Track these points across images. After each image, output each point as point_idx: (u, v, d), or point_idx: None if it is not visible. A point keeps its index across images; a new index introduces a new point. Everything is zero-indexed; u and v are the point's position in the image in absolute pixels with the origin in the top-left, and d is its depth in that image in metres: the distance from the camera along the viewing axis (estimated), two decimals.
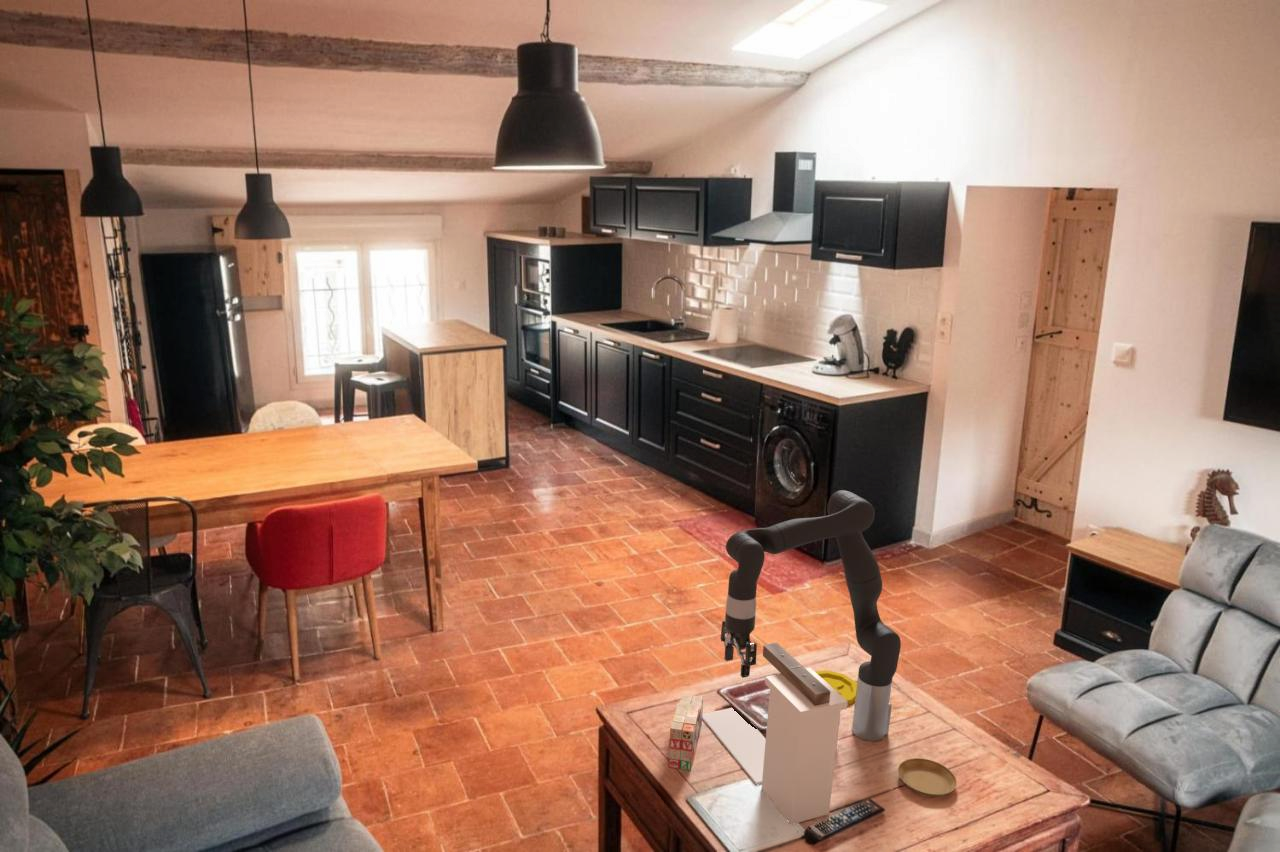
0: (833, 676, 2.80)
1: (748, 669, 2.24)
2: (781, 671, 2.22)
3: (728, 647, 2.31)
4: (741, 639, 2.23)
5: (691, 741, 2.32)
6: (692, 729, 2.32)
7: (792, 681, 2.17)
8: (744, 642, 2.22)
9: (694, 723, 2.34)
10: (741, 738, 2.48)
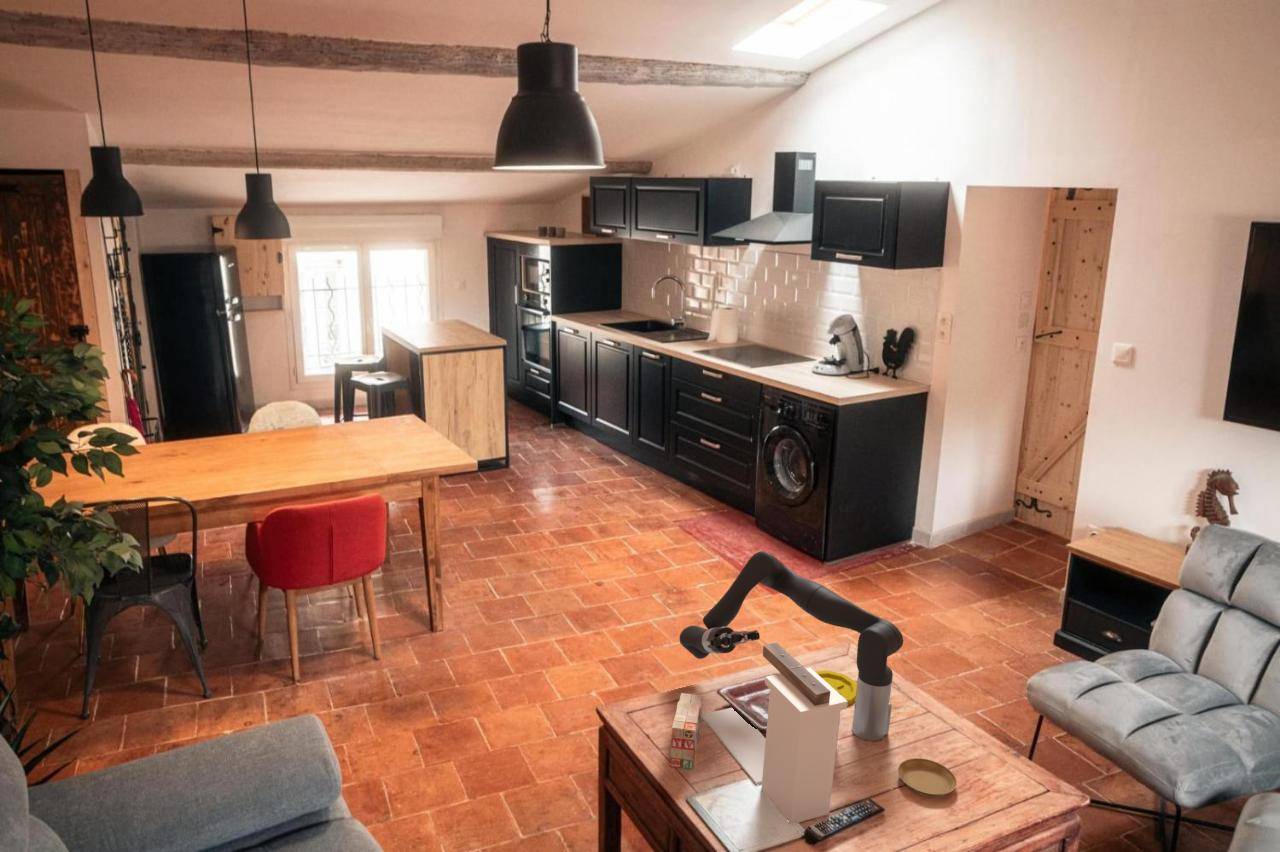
0: (832, 676, 2.80)
1: (723, 640, 2.47)
2: (781, 671, 2.22)
3: (751, 637, 2.52)
4: None
5: (693, 740, 2.32)
6: (694, 728, 2.33)
7: (792, 681, 2.17)
8: None
9: (695, 722, 2.35)
10: (741, 738, 2.48)
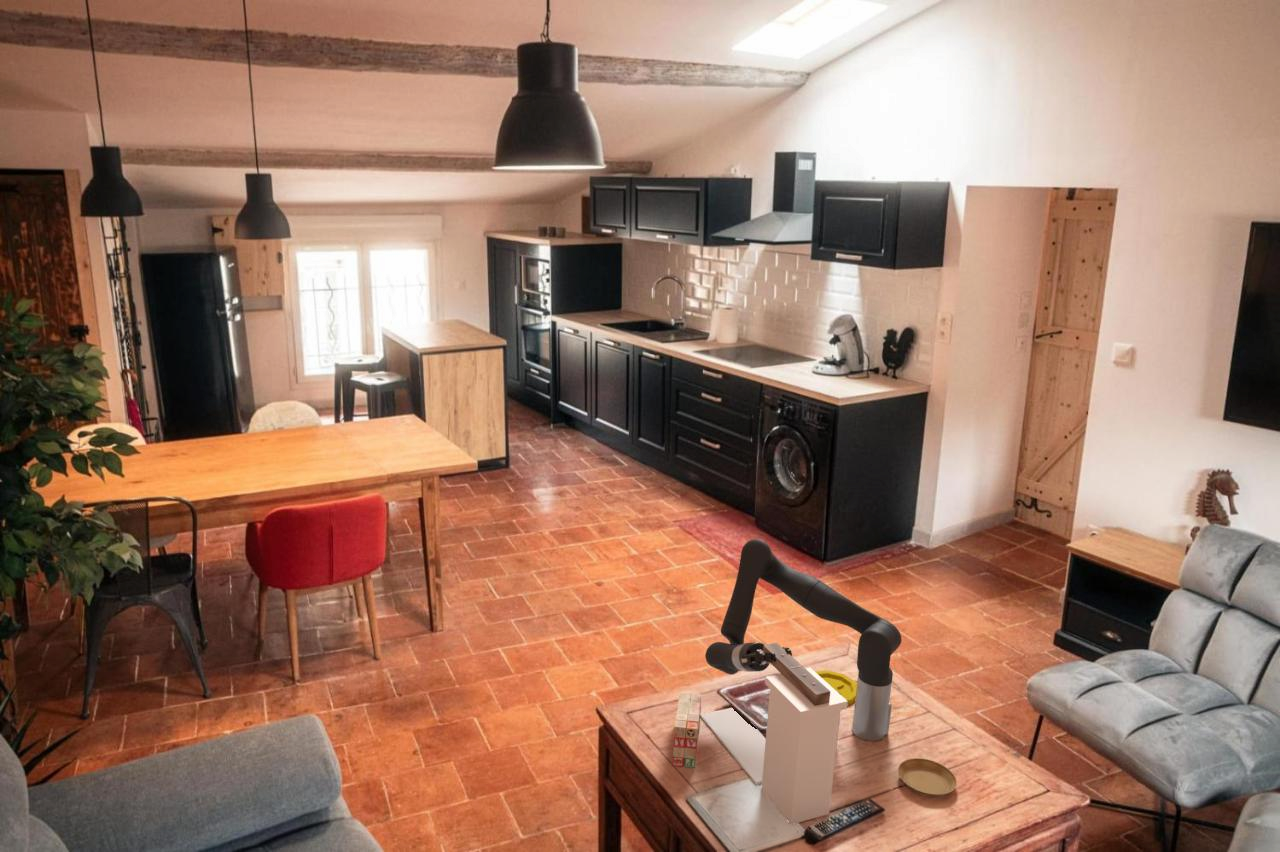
0: (832, 676, 2.80)
1: (766, 656, 2.26)
2: (781, 671, 2.22)
3: None
4: None
5: (695, 738, 2.33)
6: (696, 726, 2.33)
7: (792, 681, 2.17)
8: None
9: (697, 720, 2.36)
10: (741, 738, 2.48)
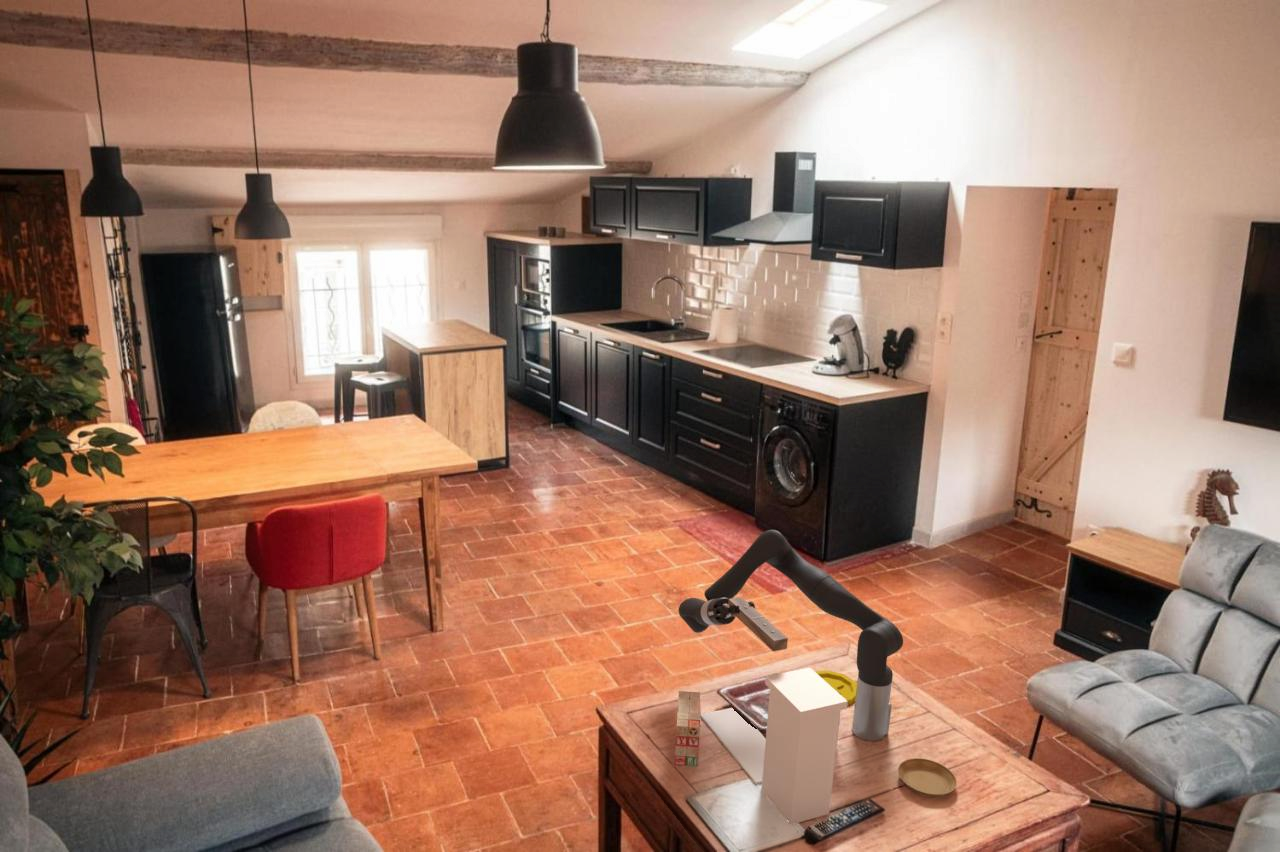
0: (832, 676, 2.80)
1: (730, 609, 2.42)
2: (744, 622, 2.38)
3: None
4: None
5: (697, 737, 2.34)
6: (698, 725, 2.34)
7: (753, 630, 2.33)
8: None
9: (699, 719, 2.36)
10: (741, 738, 2.48)
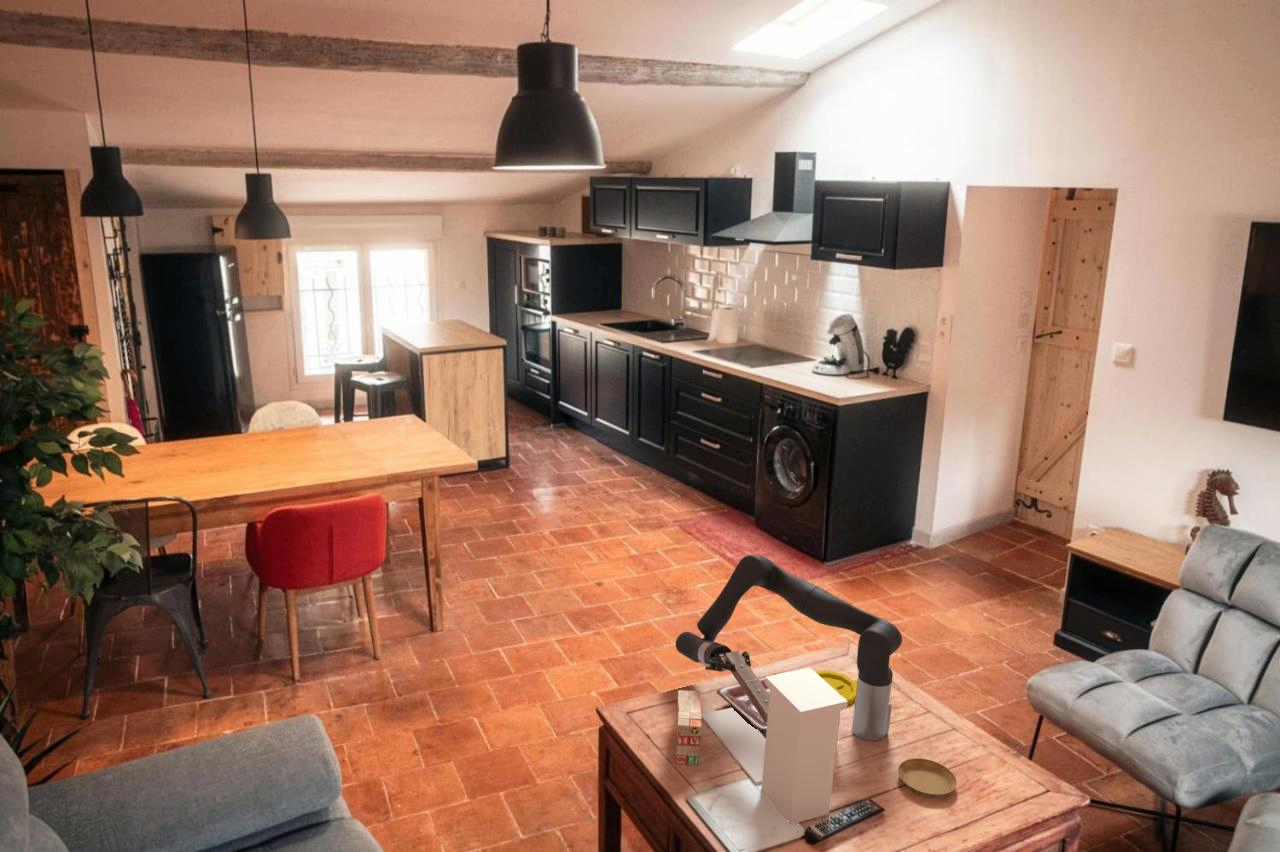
0: (832, 676, 2.80)
1: (726, 665, 2.45)
2: (739, 681, 2.42)
3: None
4: None
5: (699, 736, 2.34)
6: (699, 724, 2.34)
7: (747, 694, 2.38)
8: None
9: (700, 718, 2.37)
10: (741, 738, 2.48)
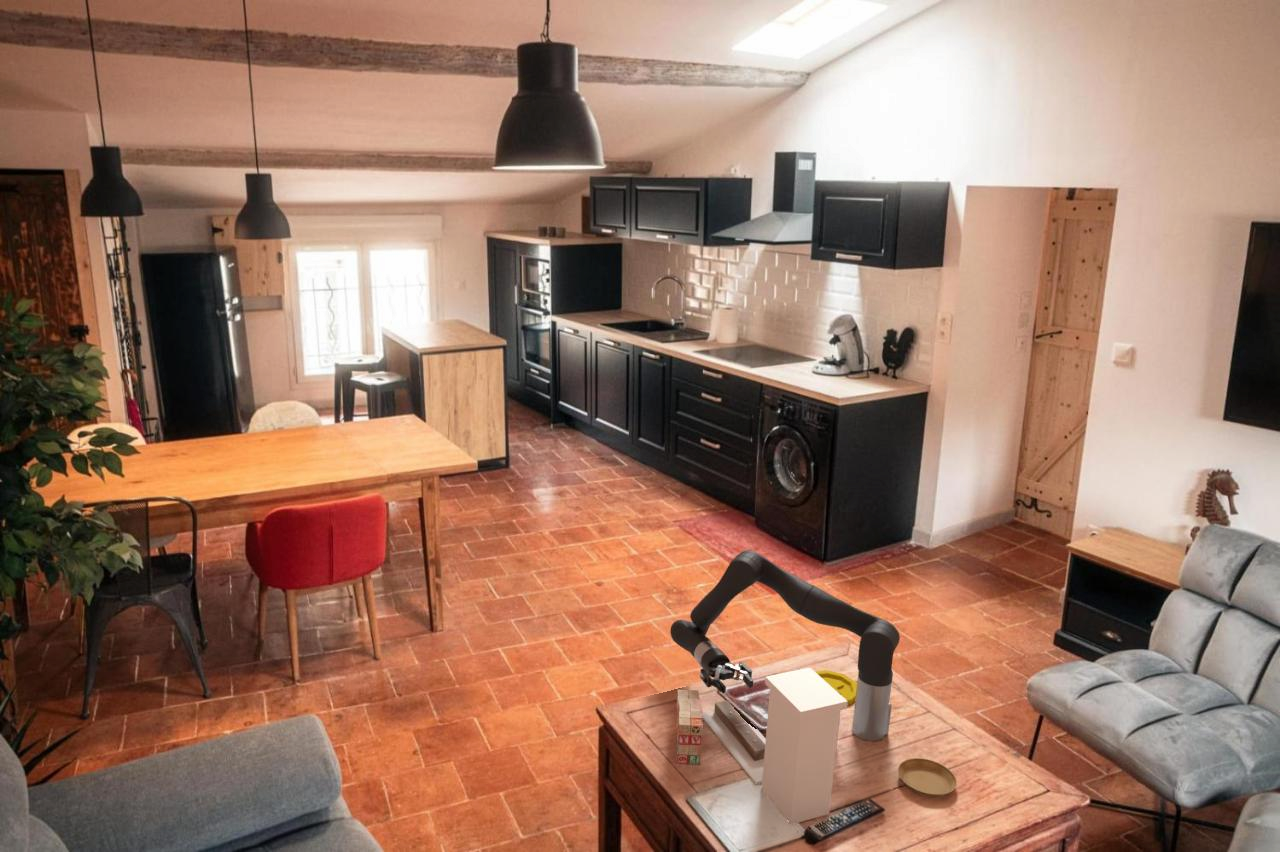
0: (832, 676, 2.80)
1: (717, 685, 2.48)
2: (728, 727, 2.52)
3: (744, 679, 2.53)
4: None
5: (700, 735, 2.35)
6: (700, 723, 2.35)
7: (737, 737, 2.47)
8: (709, 674, 2.55)
9: (701, 717, 2.37)
10: None
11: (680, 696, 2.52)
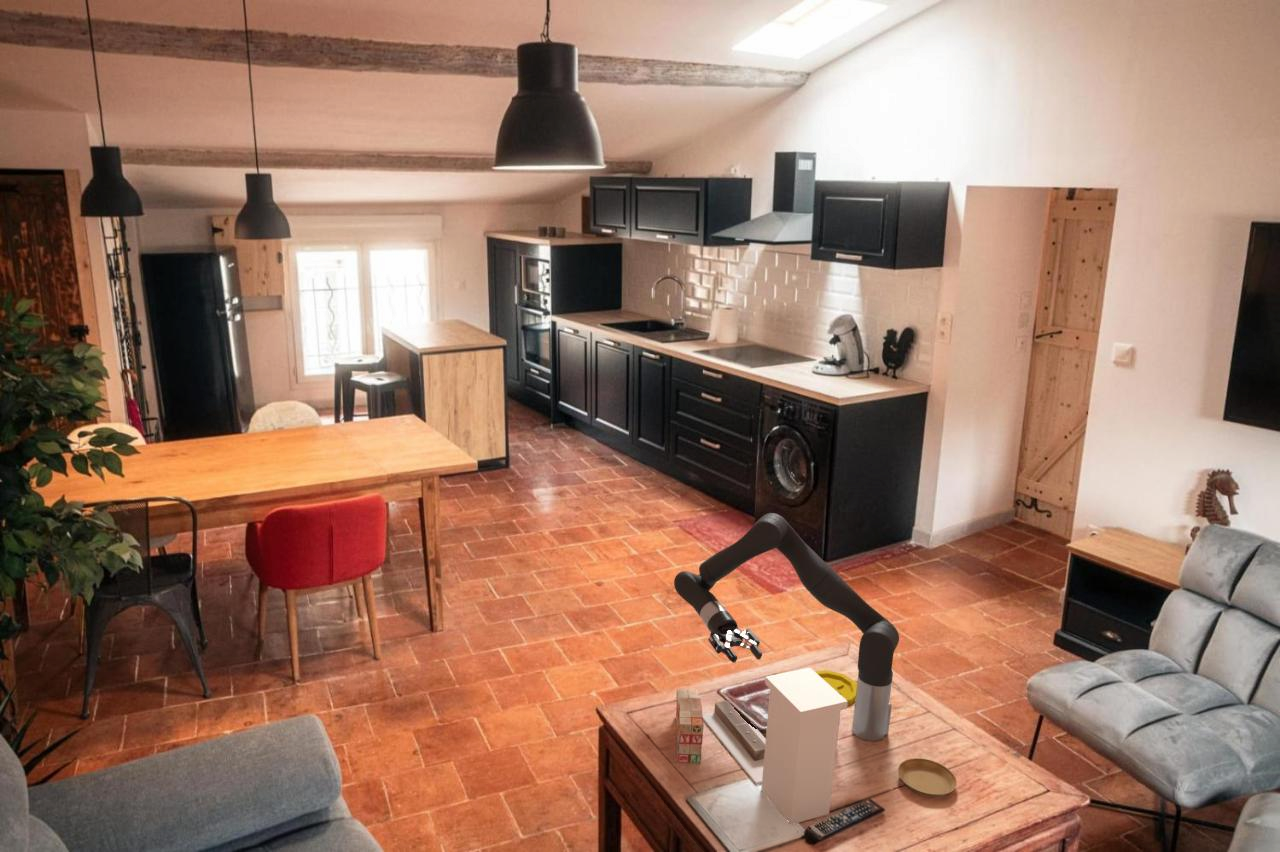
0: (832, 676, 2.80)
1: (728, 653, 2.44)
2: (728, 727, 2.52)
3: (751, 649, 2.50)
4: None
5: (701, 734, 2.35)
6: (701, 722, 2.35)
7: (737, 737, 2.47)
8: None
9: (701, 716, 2.37)
10: None
11: (680, 695, 2.52)
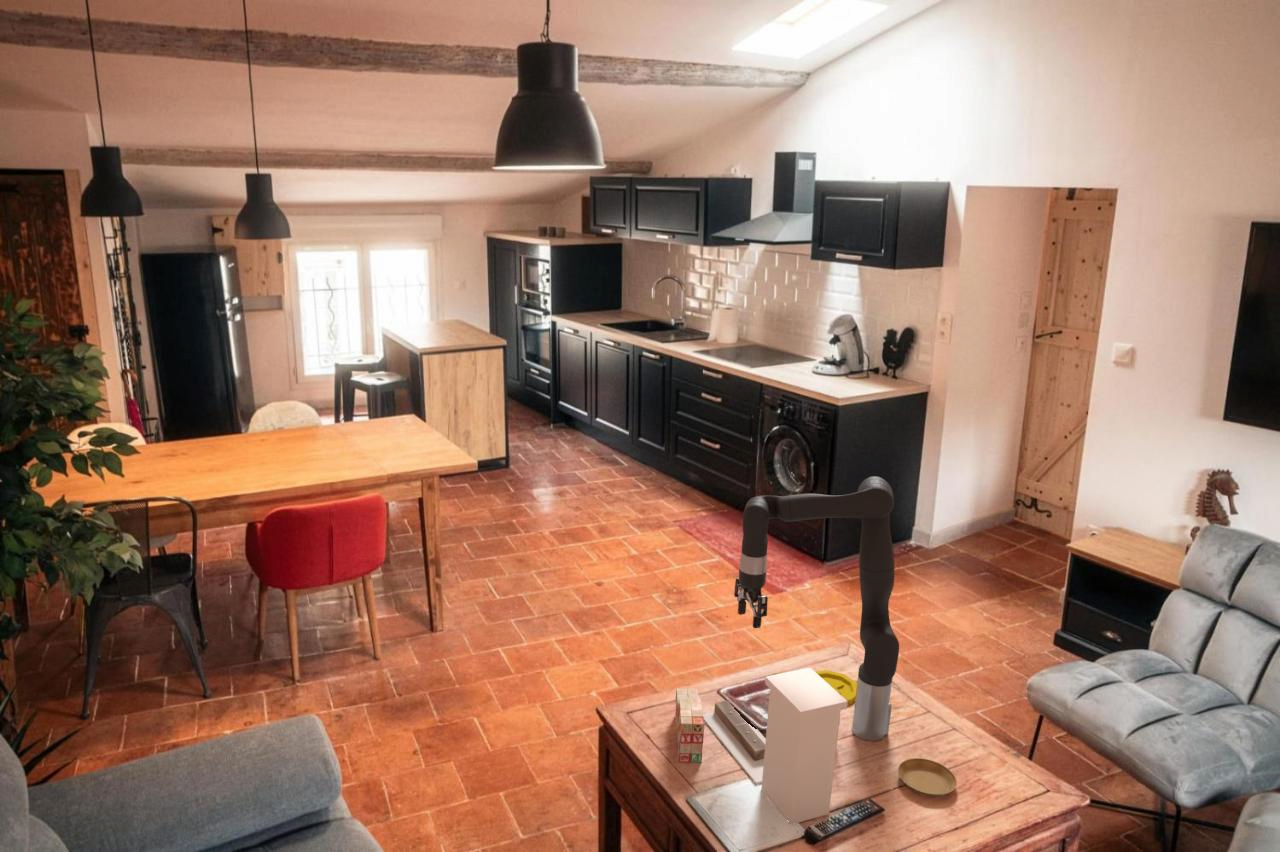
0: (832, 676, 2.80)
1: (759, 620, 2.47)
2: (728, 727, 2.52)
3: (741, 602, 2.55)
4: (753, 593, 2.46)
5: (702, 733, 2.35)
6: (702, 722, 2.35)
7: (737, 737, 2.47)
8: (756, 596, 2.46)
9: (702, 715, 2.38)
10: None
11: (679, 695, 2.52)
